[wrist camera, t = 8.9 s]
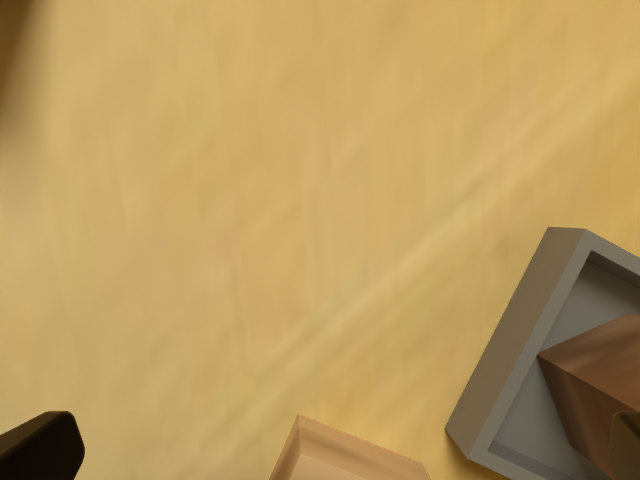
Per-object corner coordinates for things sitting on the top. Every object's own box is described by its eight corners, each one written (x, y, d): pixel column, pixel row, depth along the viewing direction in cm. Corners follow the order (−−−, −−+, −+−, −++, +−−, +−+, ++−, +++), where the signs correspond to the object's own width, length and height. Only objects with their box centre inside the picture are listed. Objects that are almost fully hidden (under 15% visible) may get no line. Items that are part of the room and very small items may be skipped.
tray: (630, 516, 21) (676, 557, 19) (444, 428, 20) (466, 458, 18) (731, 325, 21) (791, 340, 19) (548, 226, 20) (585, 228, 18)
